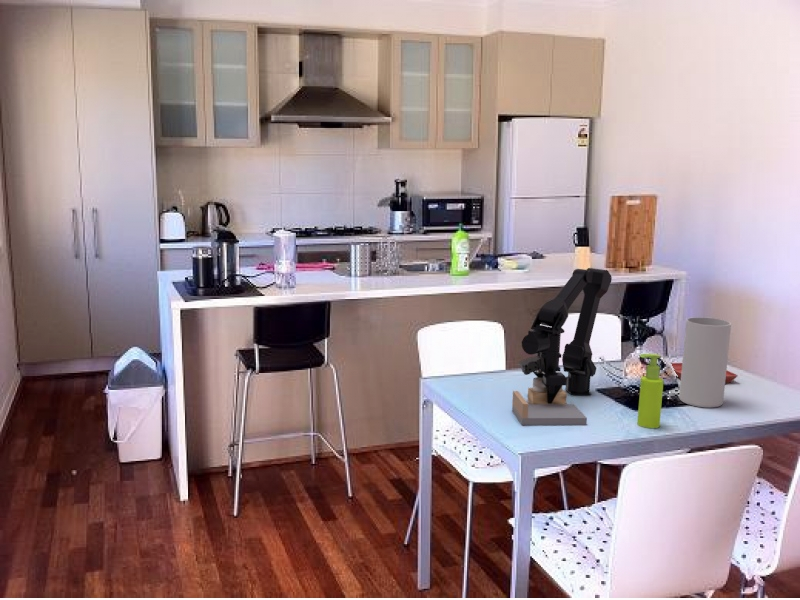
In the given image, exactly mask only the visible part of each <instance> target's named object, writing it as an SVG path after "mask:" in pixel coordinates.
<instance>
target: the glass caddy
mask: <svg viewBox="0 0 800 600" xmlns="http://www.w3.org/2000/svg"><path fill="white" fill-rule="evenodd" d="M542 381H543V378H541V377H537V376H535V377H533V379H532V387H528V389H527V403H528V404H548V401H547V392H546V386H545V385H544V384H543V383H542ZM567 395H568V393H567V391H565V390H564V389H563V386H562V387H561V388H560V390H559V392H558V393H557V395H556V397H555V398H554V400H553V402H552V403H551V404H567V397H568V396H567Z"/></svg>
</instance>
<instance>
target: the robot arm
mask: <svg viewBox="0 0 800 600" xmlns="http://www.w3.org/2000/svg"><path fill="white" fill-rule="evenodd" d="M612 281H613V279H612V274H611V273H610V271H609V270H607V269H602V268H601V269H600V268H595V267H594V268H593V267H589V268H587V269H585V268H584V269H583V268H576V269H574V270H573V272H572V274H571V276H570V278H569V279H568V281H567V282H566V283H565V285H564V286H563V287H562V289H561V290H560V291H559V293H558V294H557V295H556V296H555V298H553V299H552V300H548V301H546V302H545V303H544V304H543V305H542V306H541V308H540V309H539V310H538V312H537V314H536V316H535V318H534V321H533V322H532V325H531V327H530V330H528V334H527V335H524V337H523V338H522V340H521V348H522V350H523V352H525V353H526V355H535V356H530V357H528V358H525V359H522V360H520V361H519V366H520V369H521V372H522V373H523V375H526V376H527V375H530V374H531V373H533V374H534V375H535V377H541V378H543V381H542V383H543V384H544V385H545V386H546V392H547V401H548V404H551V403H552V402H553V400H554V398H555V397H556V395H557V393H558V392H559V390H560V388H561V387H562V388H563V386H565V390H566V392H568V394H570V395H573V396H577V395H578V396H586V395H587V396H590V395H592V392H591V391H590V388H591V377H594V376H595V375H596V372H597V366H596V364H595V363H594V362H593V359H592V357H593V351H592V348H591V345H590V342H591V337H592V334H593V331H594V325H595V323H596V317H597V314H598V309H599V305H600V300H601V299H602V297H604V295H605V294H607V292H608V290H609V288H610V286H611V283H612ZM581 292H583V299H582V303H581V307H580V311H579V316H578V318H577V319H578V321H577V324H576V327H575V331H574V336H573V340H572V341H570V342H569V343H566V344H565V345H564V350H563V354H561V353H560V351H561V349H560V348H561V336H562V335H561V334H565V332H566V331H565V330H564V329H563V326H564V325H565V323H566V321H567V319H568V317H569V309H570V307H571V306H572V305H573V303H574V302H575V301H576V299H577V298H578V297H579V295H580V294H581ZM560 359H561V360H562V367H563V372H565V373H567V376H566V375H565V374H564V373H563V372H561V369H562V368H561V366H560Z"/></svg>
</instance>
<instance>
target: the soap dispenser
mask: <svg viewBox="0 0 800 600" xmlns="http://www.w3.org/2000/svg"><path fill="white" fill-rule="evenodd" d="M638 356H639V357H640V358H642V359H644V358H645V359H646V358H650V363H649V364H648V365H646V369H645V370H646V371H645V372H646V373H645V376H641V377H640V385H639V386H640V388H639V399H638V409H637V425H638V426H639V427H641V428H642V427H643V428H646V429H657V428H659V427H660V426H661V414H662V405H663V404H662V401H663V391H664V379H663V378H661V377H660V370H661V367H660V366H659V365H658V359H659V358H661V355H660V354H658V353H642V354H638Z"/></svg>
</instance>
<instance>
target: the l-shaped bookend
mask: <svg viewBox="0 0 800 600" xmlns="http://www.w3.org/2000/svg"><path fill="white" fill-rule="evenodd" d="M511 403H512V405H511V407H512V408H511V412H512V413H513V415H514V416H515V417H516V419H517V420H518V422H519V424H520V425H521V426H587V423H588V422H587V421H588V420H587V419H588V417H587V416H586V415H585V414H584V413H583V412H582V411H581V410H580V409H579V408H578V407H577V406H576V405H575V404H574V403H569V404H568V403H566V404H530V403H529V402H528V401H527V400H526V399H525V398H524V397H523V395H522V394H521V392H520V391H519V390H512V402H511Z"/></svg>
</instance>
